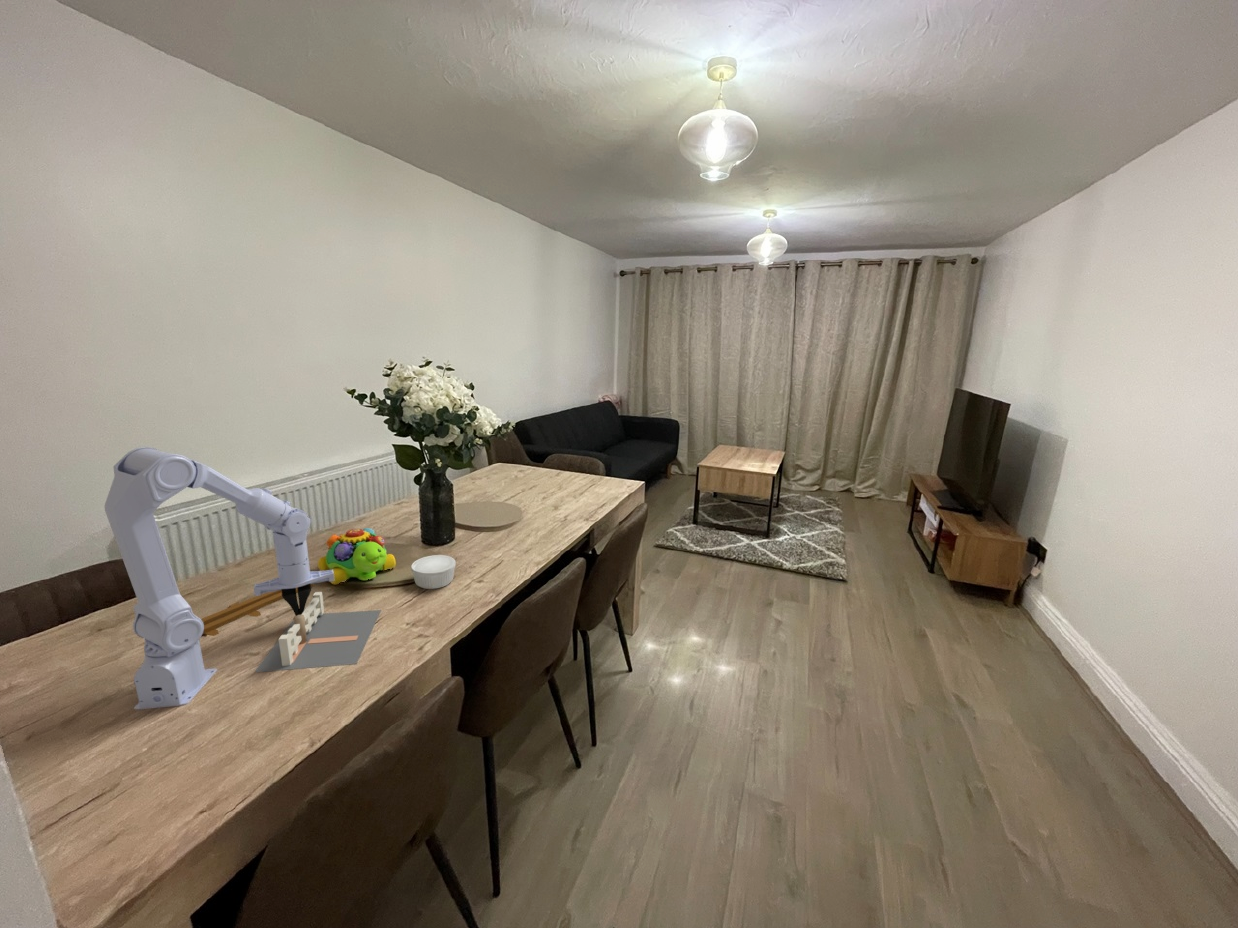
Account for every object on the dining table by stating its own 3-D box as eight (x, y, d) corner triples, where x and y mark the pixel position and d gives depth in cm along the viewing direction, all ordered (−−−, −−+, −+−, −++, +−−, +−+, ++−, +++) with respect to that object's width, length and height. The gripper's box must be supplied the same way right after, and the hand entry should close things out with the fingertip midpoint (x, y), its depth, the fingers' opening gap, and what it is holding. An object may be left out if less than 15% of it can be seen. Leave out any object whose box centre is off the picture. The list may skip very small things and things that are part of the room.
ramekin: (413, 573, 136) (412, 556, 134) (456, 569, 139) (455, 552, 138) (410, 594, 125) (409, 575, 124) (456, 589, 129) (455, 570, 128)
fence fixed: (291, 665, 97) (287, 638, 95) (281, 665, 96) (277, 639, 95) (308, 639, 105) (305, 614, 103) (299, 639, 104) (295, 614, 103)
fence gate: (307, 636, 105) (305, 614, 104) (300, 636, 105) (297, 615, 103) (324, 611, 114) (321, 591, 113) (317, 612, 114) (315, 592, 112)
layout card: (356, 665, 98) (356, 663, 98) (254, 674, 94) (254, 671, 94) (381, 611, 117) (381, 609, 117) (297, 616, 113) (296, 614, 113)
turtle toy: (342, 601, 121) (338, 557, 118) (314, 567, 136) (309, 528, 133) (410, 579, 133) (408, 539, 130) (377, 551, 148) (374, 514, 145)
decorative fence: (178, 630, 107) (204, 644, 103) (177, 622, 106) (202, 636, 102) (295, 582, 129) (320, 592, 125) (294, 575, 129) (319, 585, 124)
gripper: (330, 546, 113) (335, 599, 116) (252, 559, 105) (260, 615, 109) (332, 558, 107) (338, 613, 111) (250, 573, 99) (259, 632, 103)
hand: (299, 615), depth 109 cm, fingers closed
